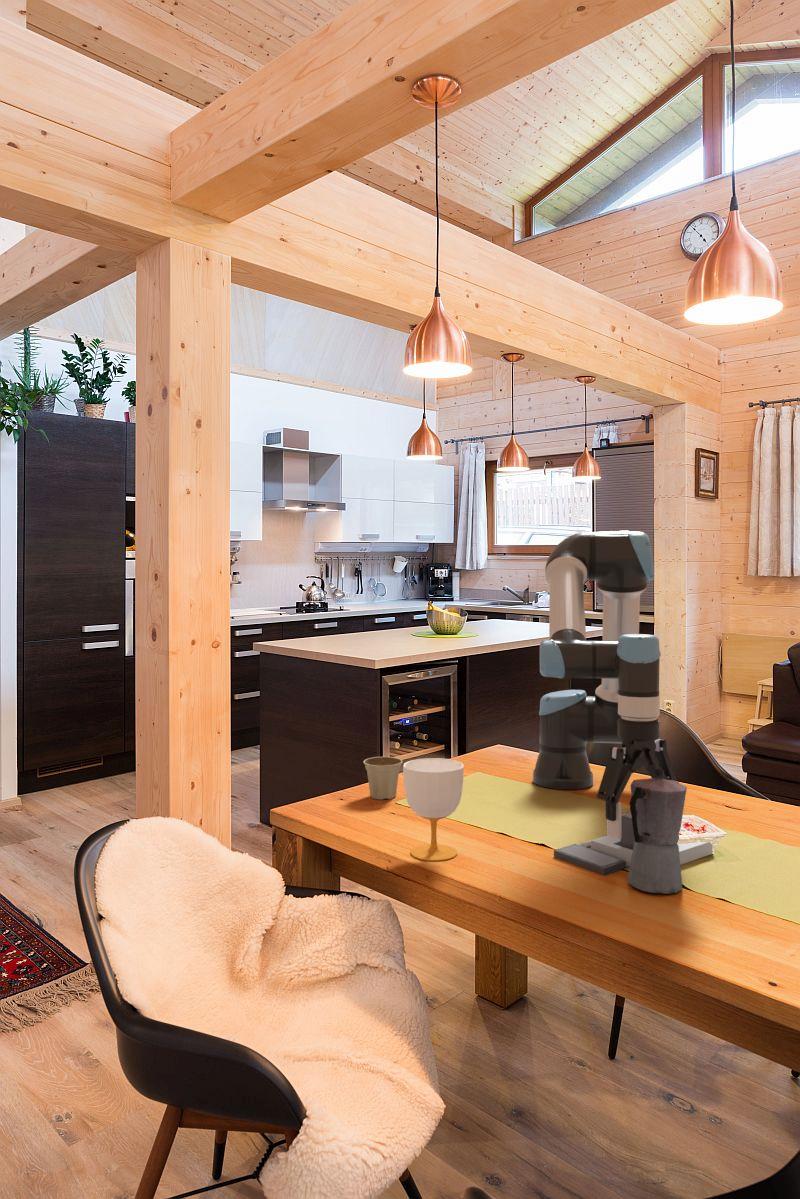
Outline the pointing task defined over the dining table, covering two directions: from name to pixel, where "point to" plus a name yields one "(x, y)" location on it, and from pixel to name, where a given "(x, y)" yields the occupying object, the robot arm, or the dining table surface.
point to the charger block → (627, 831)
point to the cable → (586, 843)
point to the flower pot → (383, 776)
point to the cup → (433, 798)
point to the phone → (590, 859)
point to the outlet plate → (616, 850)
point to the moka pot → (656, 834)
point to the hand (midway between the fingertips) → (638, 830)
